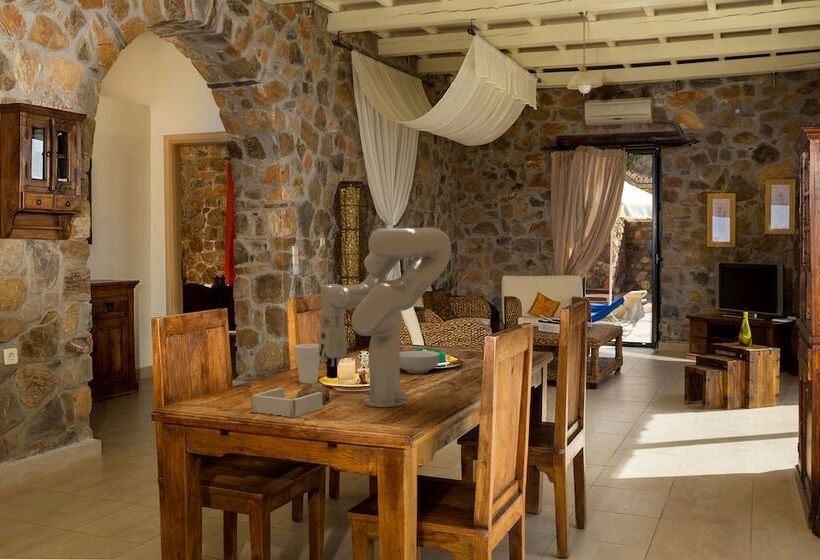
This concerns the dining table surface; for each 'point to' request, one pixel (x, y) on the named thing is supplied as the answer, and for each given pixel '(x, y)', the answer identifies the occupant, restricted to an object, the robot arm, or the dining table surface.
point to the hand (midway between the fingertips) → (331, 377)
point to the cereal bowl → (418, 361)
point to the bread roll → (315, 391)
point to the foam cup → (307, 362)
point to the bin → (285, 403)
